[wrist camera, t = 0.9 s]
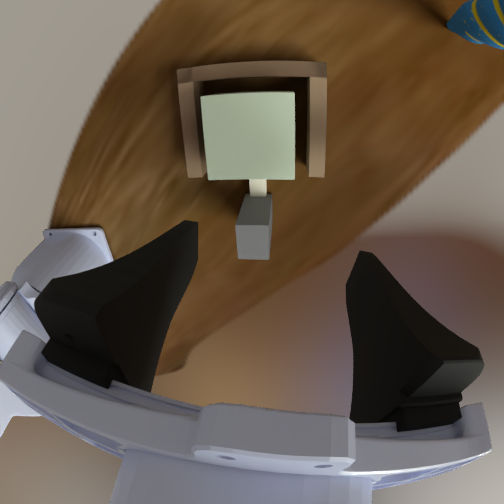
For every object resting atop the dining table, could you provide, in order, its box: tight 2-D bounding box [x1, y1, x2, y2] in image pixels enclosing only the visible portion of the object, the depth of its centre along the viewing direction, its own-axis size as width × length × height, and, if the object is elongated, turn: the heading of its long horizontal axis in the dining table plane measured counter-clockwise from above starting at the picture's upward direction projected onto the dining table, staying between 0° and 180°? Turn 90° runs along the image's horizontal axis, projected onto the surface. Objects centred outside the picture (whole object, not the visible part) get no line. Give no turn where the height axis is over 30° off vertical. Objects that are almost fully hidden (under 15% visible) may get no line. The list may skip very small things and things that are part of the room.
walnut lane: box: [177, 61, 327, 178], centre depth 17 cm, size 8×9×2 cm
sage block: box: [200, 91, 295, 260], centre depth 17 cm, size 10×5×5 cm, turn 2°
